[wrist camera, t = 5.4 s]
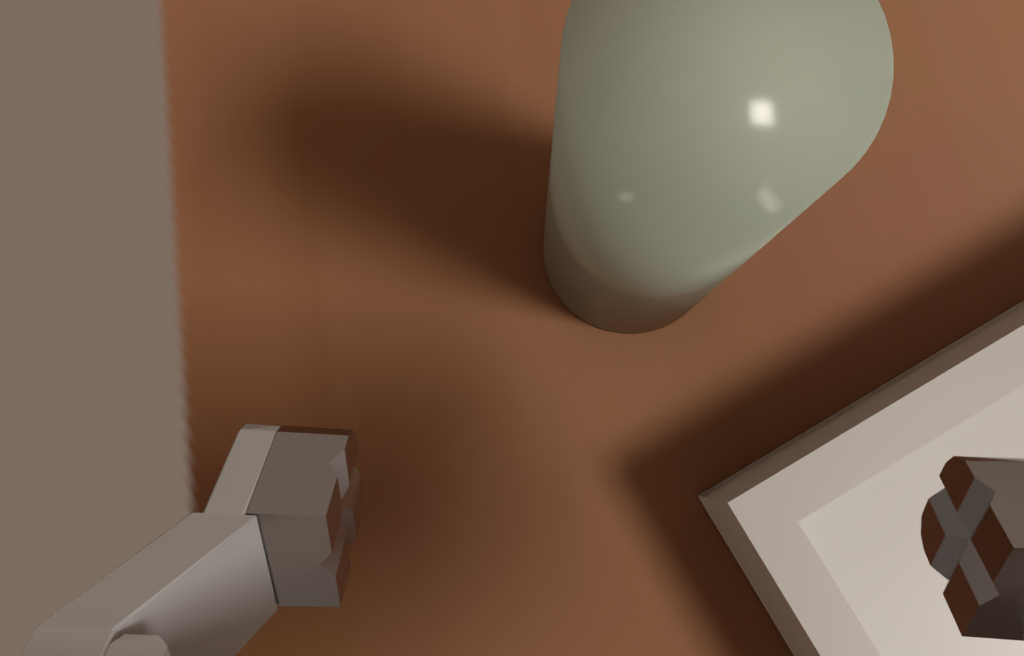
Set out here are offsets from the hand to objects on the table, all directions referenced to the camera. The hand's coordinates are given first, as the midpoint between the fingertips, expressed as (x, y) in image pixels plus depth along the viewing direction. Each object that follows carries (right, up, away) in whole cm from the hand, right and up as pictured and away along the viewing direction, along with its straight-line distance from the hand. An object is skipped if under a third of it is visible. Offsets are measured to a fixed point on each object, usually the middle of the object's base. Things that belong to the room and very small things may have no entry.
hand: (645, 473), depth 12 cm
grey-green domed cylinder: (+2, +4, +13) cm, 14 cm away
